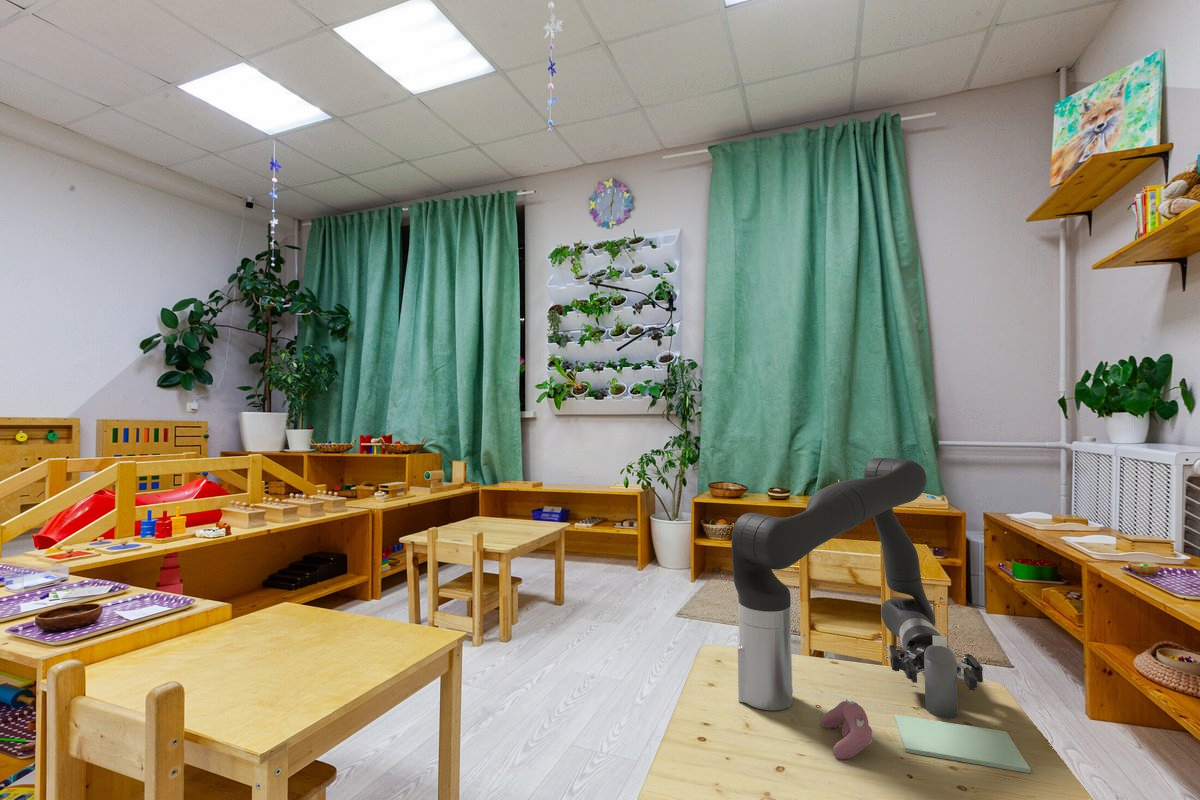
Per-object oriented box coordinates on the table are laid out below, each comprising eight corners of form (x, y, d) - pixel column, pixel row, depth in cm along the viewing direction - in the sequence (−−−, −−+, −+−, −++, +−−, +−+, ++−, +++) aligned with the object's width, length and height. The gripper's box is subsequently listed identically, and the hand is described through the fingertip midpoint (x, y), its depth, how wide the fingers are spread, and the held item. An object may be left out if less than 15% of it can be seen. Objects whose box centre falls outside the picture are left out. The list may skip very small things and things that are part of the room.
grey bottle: (928, 715, 95) (926, 640, 96) (922, 702, 100) (921, 630, 100) (961, 720, 94) (959, 644, 94) (953, 706, 98) (951, 633, 99)
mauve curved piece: (860, 774, 83) (882, 733, 82) (831, 757, 83) (852, 716, 83) (844, 736, 92) (863, 699, 92) (817, 721, 93) (837, 685, 93)
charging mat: (905, 751, 85) (905, 747, 85) (894, 718, 95) (894, 714, 95) (1030, 773, 80) (1030, 769, 80) (1006, 735, 89) (1006, 731, 89)
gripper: (882, 620, 113) (895, 653, 98) (964, 629, 108) (991, 664, 93) (883, 658, 113) (896, 696, 97) (965, 668, 108) (992, 710, 93)
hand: (943, 681), depth 95 cm, fingers open, 8 cm apart
